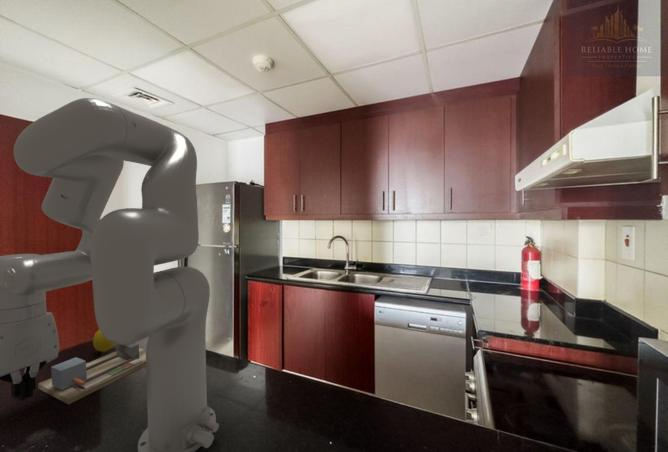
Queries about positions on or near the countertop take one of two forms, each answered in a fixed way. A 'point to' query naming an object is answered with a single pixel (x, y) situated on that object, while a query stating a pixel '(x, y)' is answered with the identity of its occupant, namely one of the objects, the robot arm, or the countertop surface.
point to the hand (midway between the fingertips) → (24, 396)
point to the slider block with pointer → (69, 373)
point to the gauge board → (101, 373)
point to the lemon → (101, 342)
